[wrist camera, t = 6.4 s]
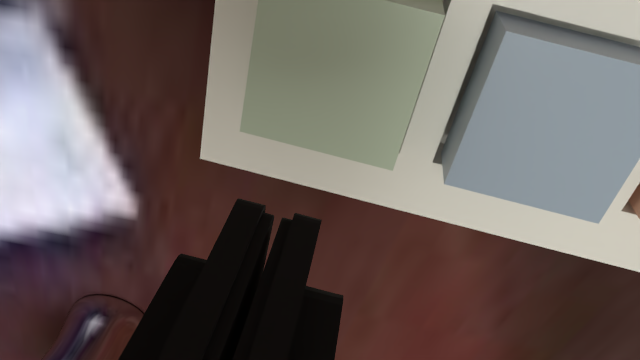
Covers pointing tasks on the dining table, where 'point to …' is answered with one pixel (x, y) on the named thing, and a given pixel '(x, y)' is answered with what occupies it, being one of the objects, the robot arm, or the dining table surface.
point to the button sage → (339, 74)
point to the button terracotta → (636, 200)
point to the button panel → (425, 130)
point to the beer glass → (95, 330)
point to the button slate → (547, 119)
